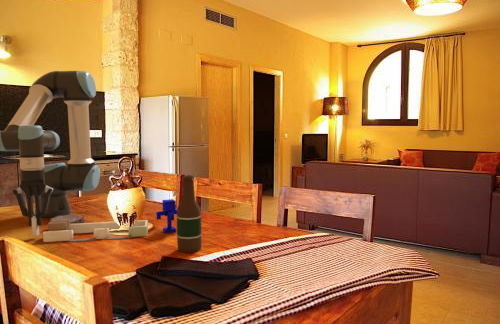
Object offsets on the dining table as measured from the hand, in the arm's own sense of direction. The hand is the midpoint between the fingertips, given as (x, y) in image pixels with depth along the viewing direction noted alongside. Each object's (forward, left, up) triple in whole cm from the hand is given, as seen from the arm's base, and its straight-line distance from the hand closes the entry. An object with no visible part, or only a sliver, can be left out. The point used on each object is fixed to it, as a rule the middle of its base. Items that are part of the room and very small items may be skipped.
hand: (35, 234), depth 144 cm
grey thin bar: (+6, +23, -1) cm, 24 cm away
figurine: (+1, +47, -2) cm, 47 cm away
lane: (0, +21, -1) cm, 21 cm away
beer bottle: (+25, +53, -2) cm, 58 cm away
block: (0, +8, -2) cm, 8 cm away
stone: (-15, +7, -2) cm, 17 cm away
